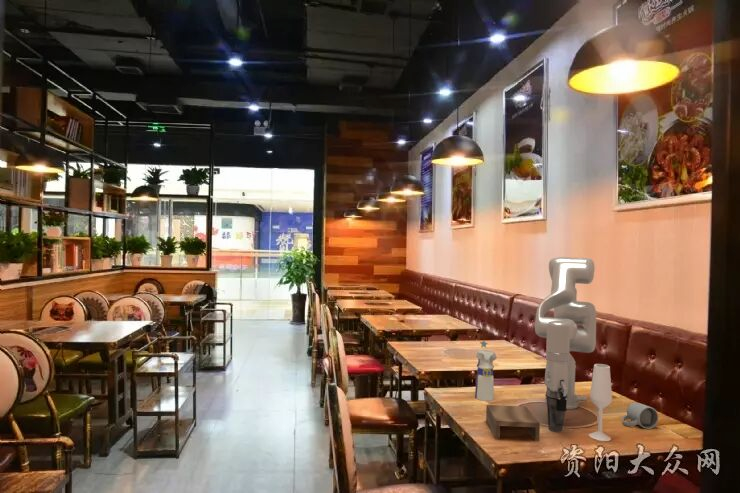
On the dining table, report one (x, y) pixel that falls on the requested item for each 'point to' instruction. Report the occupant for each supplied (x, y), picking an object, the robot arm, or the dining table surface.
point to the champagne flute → (601, 396)
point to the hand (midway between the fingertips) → (556, 406)
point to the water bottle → (485, 374)
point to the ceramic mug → (641, 416)
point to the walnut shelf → (511, 419)
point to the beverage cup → (554, 412)
